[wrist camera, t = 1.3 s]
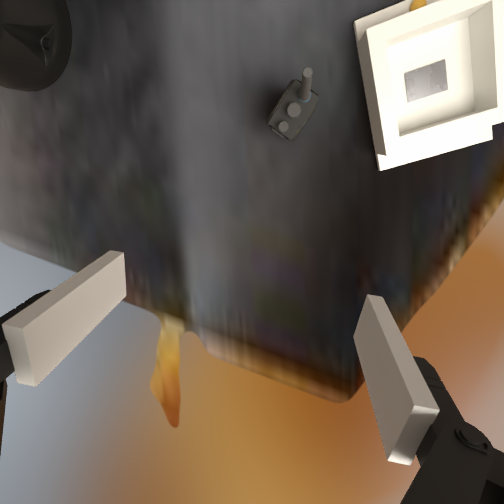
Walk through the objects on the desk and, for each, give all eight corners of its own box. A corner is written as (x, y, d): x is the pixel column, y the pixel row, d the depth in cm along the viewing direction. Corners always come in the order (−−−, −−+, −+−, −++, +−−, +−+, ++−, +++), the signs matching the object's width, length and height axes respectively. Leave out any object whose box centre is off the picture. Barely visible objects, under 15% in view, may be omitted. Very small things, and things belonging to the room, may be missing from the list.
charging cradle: (353, 24, 32) (362, 4, 28) (477, -26, 30) (510, -57, 25) (378, 170, 37) (389, 174, 32) (487, 139, 34) (516, 139, 30)
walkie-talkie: (293, 90, 35) (288, 36, 17) (316, 107, 36) (335, 72, 17) (270, 127, 37) (242, 114, 19) (292, 143, 37) (286, 145, 19)
